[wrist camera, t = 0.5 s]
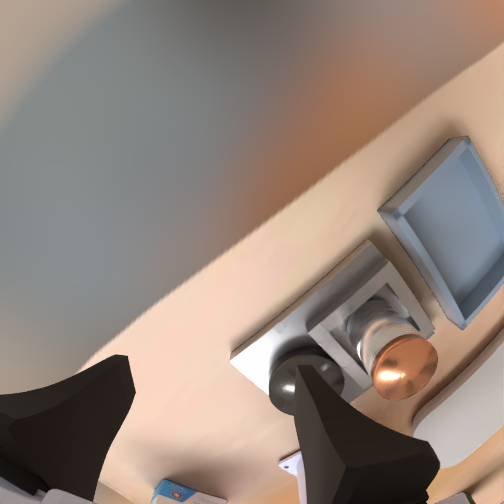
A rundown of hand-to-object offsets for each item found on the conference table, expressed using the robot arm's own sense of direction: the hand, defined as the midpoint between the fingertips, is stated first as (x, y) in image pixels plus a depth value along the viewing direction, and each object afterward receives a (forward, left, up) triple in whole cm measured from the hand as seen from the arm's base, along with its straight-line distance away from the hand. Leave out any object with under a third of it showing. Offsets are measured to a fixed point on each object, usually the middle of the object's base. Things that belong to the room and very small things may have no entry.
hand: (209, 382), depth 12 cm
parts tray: (-8, -16, -10) cm, 21 cm away
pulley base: (-8, -3, -10) cm, 14 cm away
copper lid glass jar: (-8, -6, -9) cm, 14 cm away
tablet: (-29, -15, -11) cm, 35 cm away
